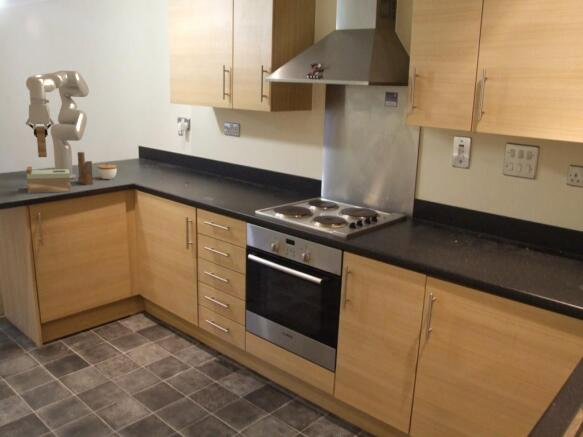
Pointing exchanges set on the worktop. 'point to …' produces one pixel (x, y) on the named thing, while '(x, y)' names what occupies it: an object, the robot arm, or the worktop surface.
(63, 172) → the toolbox lid
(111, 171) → the lidded jar
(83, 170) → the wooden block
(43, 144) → the key peg
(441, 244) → the worktop surface
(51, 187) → the base
